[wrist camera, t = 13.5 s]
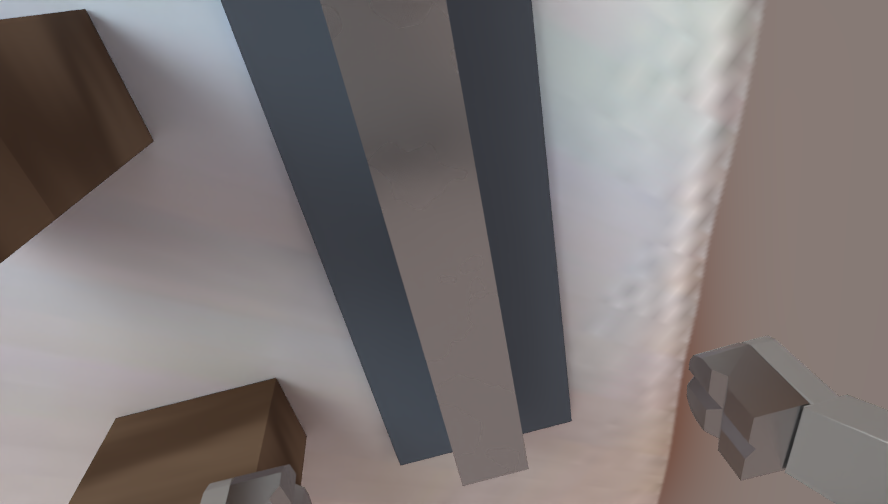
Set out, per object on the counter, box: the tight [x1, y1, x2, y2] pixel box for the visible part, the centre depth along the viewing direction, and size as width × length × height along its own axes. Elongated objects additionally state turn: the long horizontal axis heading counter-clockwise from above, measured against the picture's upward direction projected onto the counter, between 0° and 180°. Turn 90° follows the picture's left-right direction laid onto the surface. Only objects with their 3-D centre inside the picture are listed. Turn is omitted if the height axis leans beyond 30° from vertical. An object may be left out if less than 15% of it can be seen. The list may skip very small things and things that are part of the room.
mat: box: [221, 0, 572, 465], centre depth 19 cm, size 25×9×1 cm, turn 11°
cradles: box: [0, 9, 307, 504], centre depth 15 cm, size 19×7×10 cm, turn 11°
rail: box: [320, 0, 529, 486], centre depth 17 cm, size 22×3×3 cm, turn 11°
